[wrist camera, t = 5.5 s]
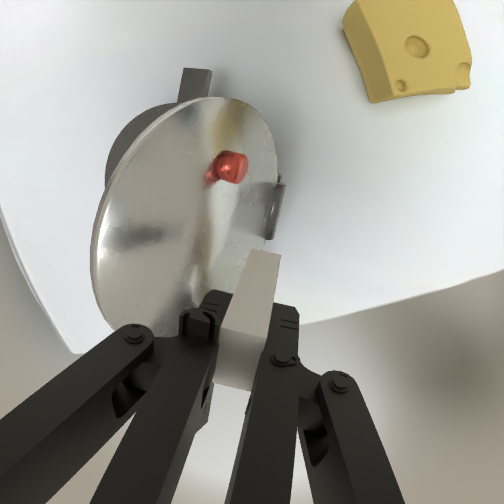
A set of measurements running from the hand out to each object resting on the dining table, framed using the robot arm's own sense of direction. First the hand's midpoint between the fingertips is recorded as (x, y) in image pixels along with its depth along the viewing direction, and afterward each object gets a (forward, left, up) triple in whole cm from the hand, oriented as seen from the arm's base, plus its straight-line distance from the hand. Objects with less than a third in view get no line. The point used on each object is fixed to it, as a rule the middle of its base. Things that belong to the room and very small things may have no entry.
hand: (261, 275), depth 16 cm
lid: (+6, -4, -5) cm, 9 cm away
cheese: (-19, +9, -22) cm, 30 cm away
